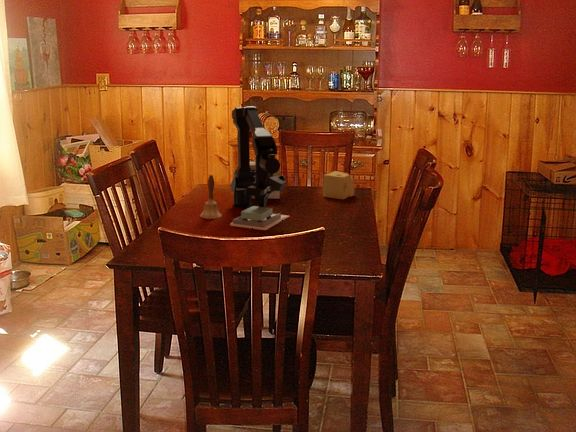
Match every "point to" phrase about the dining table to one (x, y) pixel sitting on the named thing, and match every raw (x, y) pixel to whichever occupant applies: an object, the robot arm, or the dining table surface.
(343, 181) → the cheese
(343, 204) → the dining table surface
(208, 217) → the hand bell
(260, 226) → the dock
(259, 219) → the sage green box
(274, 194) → the tea box
